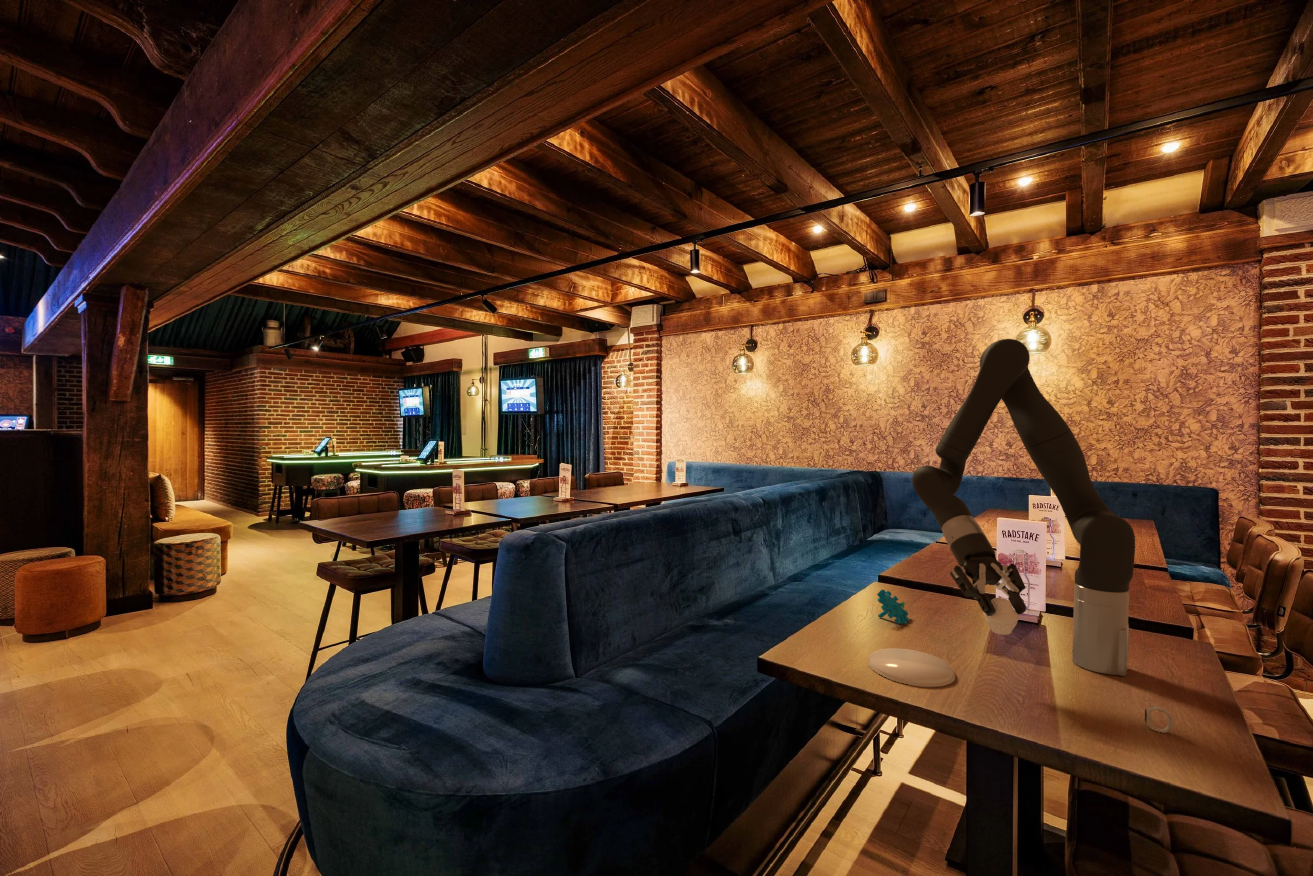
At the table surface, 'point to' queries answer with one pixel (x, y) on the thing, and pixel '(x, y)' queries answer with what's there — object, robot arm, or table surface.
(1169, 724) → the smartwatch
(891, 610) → the teal knobbly lump
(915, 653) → the plate
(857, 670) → the table surface
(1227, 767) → the table surface
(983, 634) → the table surface
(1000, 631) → the muffin
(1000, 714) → the table surface
